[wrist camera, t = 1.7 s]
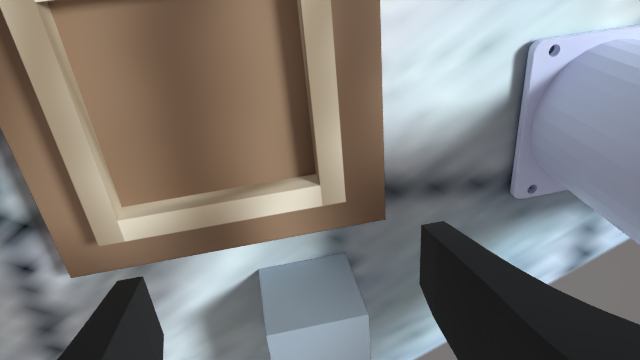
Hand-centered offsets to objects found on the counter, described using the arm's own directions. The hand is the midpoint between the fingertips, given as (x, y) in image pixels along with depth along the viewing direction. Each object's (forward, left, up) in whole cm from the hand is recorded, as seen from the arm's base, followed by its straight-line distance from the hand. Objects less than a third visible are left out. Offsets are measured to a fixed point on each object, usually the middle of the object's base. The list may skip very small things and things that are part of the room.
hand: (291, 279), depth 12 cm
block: (-1, +9, -9) cm, 13 cm away
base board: (+2, -3, -9) cm, 10 cm away
